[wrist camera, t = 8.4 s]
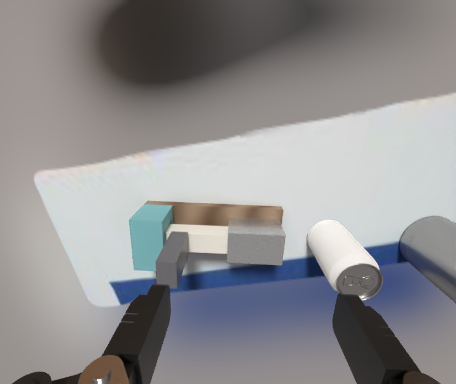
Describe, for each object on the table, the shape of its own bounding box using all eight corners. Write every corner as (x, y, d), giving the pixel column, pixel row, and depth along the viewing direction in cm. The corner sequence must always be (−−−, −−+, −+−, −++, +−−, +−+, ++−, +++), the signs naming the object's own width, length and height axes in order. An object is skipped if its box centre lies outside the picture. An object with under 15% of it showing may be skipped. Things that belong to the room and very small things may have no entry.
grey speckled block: (278, 219, 39) (285, 235, 34) (276, 245, 41) (281, 265, 35) (228, 217, 39) (227, 233, 34) (227, 243, 41) (226, 262, 36)
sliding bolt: (241, 225, 38) (243, 265, 28) (240, 245, 39) (242, 291, 29) (152, 221, 38) (122, 260, 28) (153, 241, 39) (125, 285, 29)
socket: (172, 205, 39) (162, 221, 33) (174, 249, 41) (164, 271, 36) (144, 204, 39) (129, 220, 33) (147, 248, 41) (134, 270, 36)
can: (341, 253, 42) (379, 306, 31) (303, 251, 43) (328, 303, 31) (348, 219, 40) (393, 262, 29) (309, 217, 40) (338, 259, 29)
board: (281, 206, 40) (283, 210, 39) (276, 249, 43) (278, 254, 41) (147, 200, 40) (144, 204, 39) (150, 243, 43) (147, 248, 41)
